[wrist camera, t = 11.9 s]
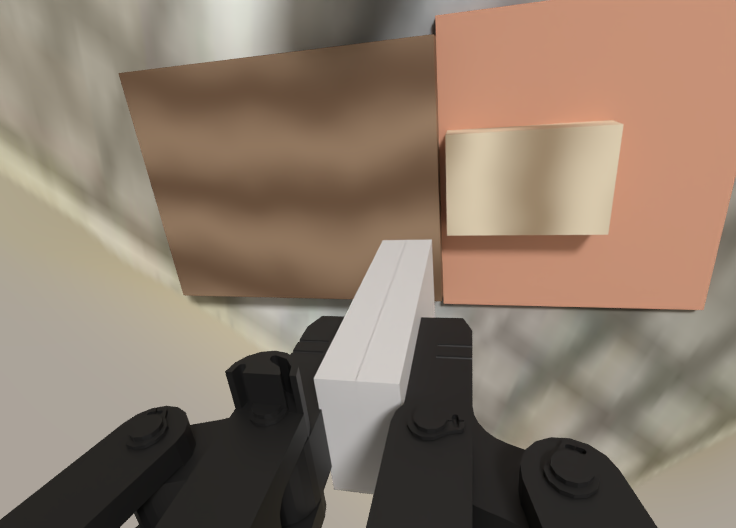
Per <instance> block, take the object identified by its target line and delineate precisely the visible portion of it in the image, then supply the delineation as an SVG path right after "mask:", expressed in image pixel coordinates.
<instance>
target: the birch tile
mask: <svg viewBox="0 0 736 528" xmlns="http://www.w3.org/2000/svg"><path fill="white" fill-rule="evenodd" d="M623 125H624V124H622V123H619V122H616V121H614V120H606V121H590V122H574V123H558V124H542V125H526V126H511V127H495V128H479V129H463V130H447V133H446V135H445V142H446V204H447V236H466V235H608V232H609V225H610V218H611V211H612V204H613V197H614V190H615V182H616V175H617V168H618V161H619V154H620V147H621V139H622V132H623Z"/></svg>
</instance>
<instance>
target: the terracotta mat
mask: <svg viewBox="0 0 736 528" xmlns="http://www.w3.org/2000/svg"><path fill="white" fill-rule="evenodd" d="M435 21H436V55H437V90H438V124H439V159H440V193H441V227H442V262H443V296H444V304H480V305H521V306H561V307H602V308H643V309H684V310H704V305H705V301H706V297H707V293H708V289H709V285H710V280H711V276H712V272H713V268H714V264H715V260H716V255H717V251H718V247H719V243H720V239H721V235H722V230H723V226H724V222H725V218H726V214H727V209H728V205H729V201H730V197H731V193H732V189H733V184H734V180H735V176H736V0H549V1H541V2H534V3H527V4H519V5H512V6H504V7H497V8H489V9H482V10H474V11H467V12H459V13H452V14H444V15H437V16H435ZM606 120H614V121H616V122H619V123H622V124H624V125H623V132H622V139H621V147H620V154H619V161H618V168H617V175H616V182H615V190H614V197H613V204H612V211H611V218H610V225H609V232H608V235H466V236H447V204H446V142H445V135H446V133H447V130H463V129H479V128H495V127H511V126H526V125H542V124H558V123H574V122H590V121H606Z"/></svg>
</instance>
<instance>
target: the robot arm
mask: <svg viewBox="0 0 736 528" xmlns="http://www.w3.org/2000/svg"><path fill="white" fill-rule="evenodd" d="M225 373H226V377H227V380H228V384H229V387H230V391H231V394H232V398H233V401H234V404H235V408H236V409H235V410H234V412H233V413H232V415H231V416H230V418H226V419H222V420H217V421H211V422H205V423H200V424H193V425H190V424H189V421H188V418H187V415H186V413H185V412H184V411H183V410H181V409H180V408H178V407H171V406H164V407H157V408H152V409H149V410H147V411H144V412H142V413H140V414H137V415H135V416H134V417H132V418H131V419H130V420H128V421H126V422H125V423H123V424H122V425H120V426H119V427H118V428H117V429H115V430H114V431H113V432H112V433H111V434H109V435H108V436H107V437H105V438H104V439H103V440H101V441H100V442H99V443H98V444H96V445H95V446H94V447H92V448H91V449H90V450H89V451H88V452H86V453H85V454H84V455H82V456H81V457H80V458H78V459H77V460H76V461H75V462H73V463H72V464H71V465H70V466H68V467H67V468H66V469H64V470H63V471H62V472H61V473H59V474H58V475H57V476H55V477H54V478H53V479H52V480H50V481H49V482H48V483H47V484H45V485H44V486H43V487H42V488H40V489H39V490H38V491H36V492H35V493H34V494H33V495H31V496H30V497H29V498H27V499H26V500H25V501H24V502H22V503H21V504H20V505H19V506H17V507H16V508H15V509H13V510H12V511H11V512H10V513H8V514H7V515H6V516H4V517H3V518H2V519H1V520H0V528H120V526H122V524H123V523H124V522H126V521H127V520H128V518H130V517H131V516H132V515H133V514H135V516H136V518H137V521H138V523H139V525H138V526H137V527H136V528H321V527H322V524H323V521H324V518H325V511H326V501H325V496H324V488H325V485H326V482H327V479H328V477H329V473H330V471H331V475H332V480H333V486H334V489H335V490H343V491H351V492H359V493H367V494H374V495H373V500H372V504H371V509H370V513H369V517H368V521H367V526H366V528H657V526H656V525H655V523H654V521H653V520H652V518H651V517H650V515H649V514H648V512H647V511H646V510H645V508H644V506H643V505H642V504H641V502H640V500H639V499H638V497H637V496H636V494H635V493H634V491H633V490H632V488H631V487H630V485H629V484H628V482H627V481H626V479H625V478H624V476H623V475H622V473H621V472H620V470H619V469H618V468H617V467H616V466H615V465H614V464H613V463H612V461H611V460H610V459H609V458H608V457H607V456H606V455H604V454H603V453H601V452H600V451H598V450H596V449H595V448H593V447H592V446H590V445H588V444H585V443H582V442H579V441H576V440H573V439H570V438H553V437H551V438H547V439H543V440H539V441H536V442H534V443H533V444H532V445H531V446H529V447H528V448H527V449H526V450H524V449H521V448H518V447H516V446H513V445H510V444H507V443H505V442H503V441H501V440H499V439H496V438H495V437H493V436H492V435H491V434H489V433H488V432H486V431H485V430H484V429H483V428H482V426H481V425H480V424H479V423H478V421H477V420H476V418H475V416H474V412H473V407H472V330H471V328H470V327H469V326H468V324H467V323H466V322H465V320H464V319H463V318H435V302H434V279H433V255H432V239H431V240H383V241H382V243H381V245H380V247H379V249H378V251H377V253H376V255H375V257H374V259H373V261H372V263H371V265H370V267H369V269H368V271H367V273H366V275H365V277H364V279H363V281H362V283H361V285H360V287H359V289H358V291H357V293H356V295H355V297H354V299H353V301H352V303H351V305H350V307H349V309H348V311H347V313H346V315H345V317H338V316H322V317H320V318H319V319H317V320H316V321H315V322H313V323H312V324H311V325H309V326H308V327H307V329H306V330H305V332H304V334H303V335H302V337H301V338H300V342H298V343H297V345H296V346H295V348H294V350H293V353H291V354H290V355H289V354H288V353H284V352H279V351H267V352H259V353H256V354H253V355H249V356H247V357H245V358H243V359H241V360H239V361H238V362H235V363H234V364H233V365H232V366H231V367H230V368H229V369H228V370H226V371H225Z"/></svg>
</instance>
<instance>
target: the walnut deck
mask: <svg viewBox="0 0 736 528" xmlns="http://www.w3.org/2000/svg"><path fill="white" fill-rule="evenodd" d="M119 77H120V80H121V84H122V87H123V90H124V94H125V97H126V101H127V104H128V107H129V111H130V114H131V118H132V121H133V124H134V128H135V131H136V135H137V138H138V141H139V145H140V148H141V152H142V155H143V158H144V162H145V165H146V169H147V172H148V175H149V179H150V182H151V186H152V189H153V192H154V196H155V199H156V203H157V206H158V209H159V213H160V216H161V220H162V223H163V226H164V230H165V233H166V237H167V240H168V243H169V247H170V250H171V254H172V257H173V260H174V264H175V267H176V271H177V274H178V277H179V281H180V284H181V288H182V291H183V294H184V295H191V296H234V297H277V298H320V299H354V297H355V295H356V293H357V291H358V289H359V287H360V285H361V283H362V281H363V279H364V277H365V275H366V273H367V271H368V269H369V267H370V265H371V263H372V261H373V259H374V257H375V255H376V253H377V251H378V249H379V247H380V245H381V243H382V241H383V240H431V239H432V255H433V279H434V301H442V297H443V262H442V227H441V193H440V159H439V124H438V90H437V55H436V36H435V35H434V34H432V35H423V36H415V37H407V38H399V39H391V40H383V41H375V42H367V43H359V44H351V45H343V46H335V47H327V48H319V49H310V50H302V51H294V52H286V53H278V54H270V55H262V56H254V57H246V58H238V59H230V60H222V61H214V62H205V63H197V64H189V65H181V66H173V67H165V68H157V69H149V70H141V71H133V72H125V73H119Z"/></svg>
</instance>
